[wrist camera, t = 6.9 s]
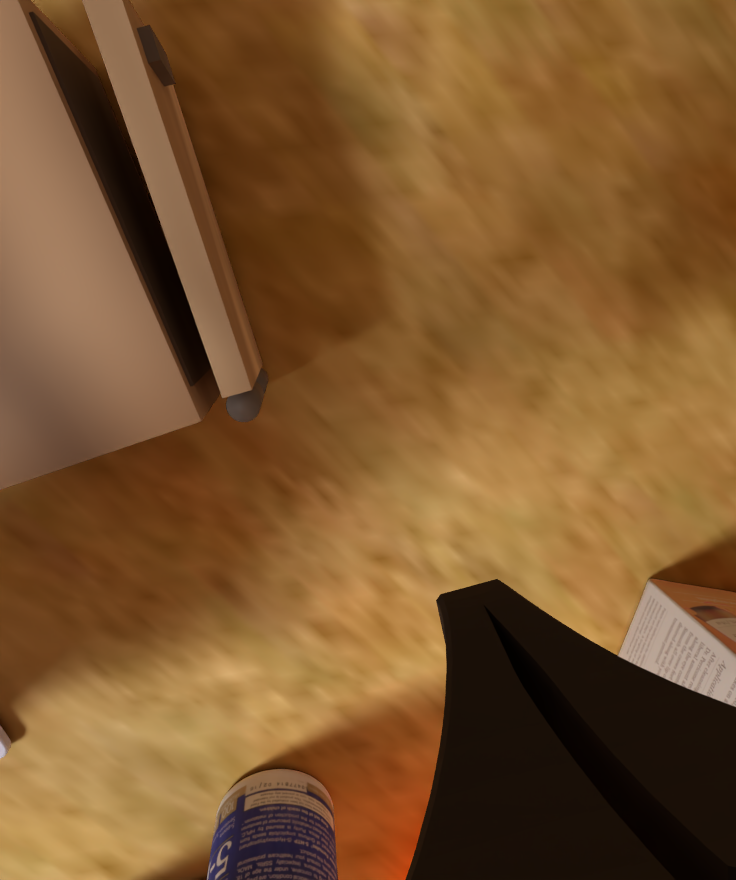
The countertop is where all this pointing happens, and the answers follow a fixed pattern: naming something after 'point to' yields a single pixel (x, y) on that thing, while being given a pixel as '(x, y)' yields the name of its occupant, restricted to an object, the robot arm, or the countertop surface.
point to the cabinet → (81, 271)
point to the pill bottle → (274, 830)
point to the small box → (686, 637)
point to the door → (180, 200)
